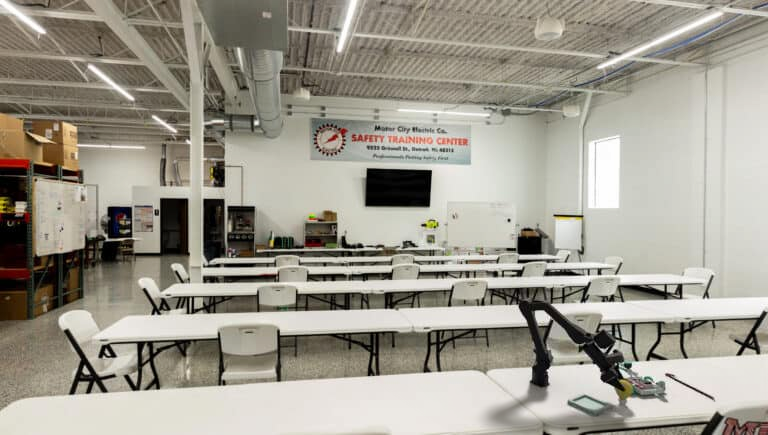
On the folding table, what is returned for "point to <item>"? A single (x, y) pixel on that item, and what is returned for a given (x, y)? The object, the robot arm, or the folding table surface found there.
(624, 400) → the light bulb
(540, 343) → the robot arm
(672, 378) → the crowbar
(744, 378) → the folding table surface
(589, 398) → the tray
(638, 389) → the robot kit
